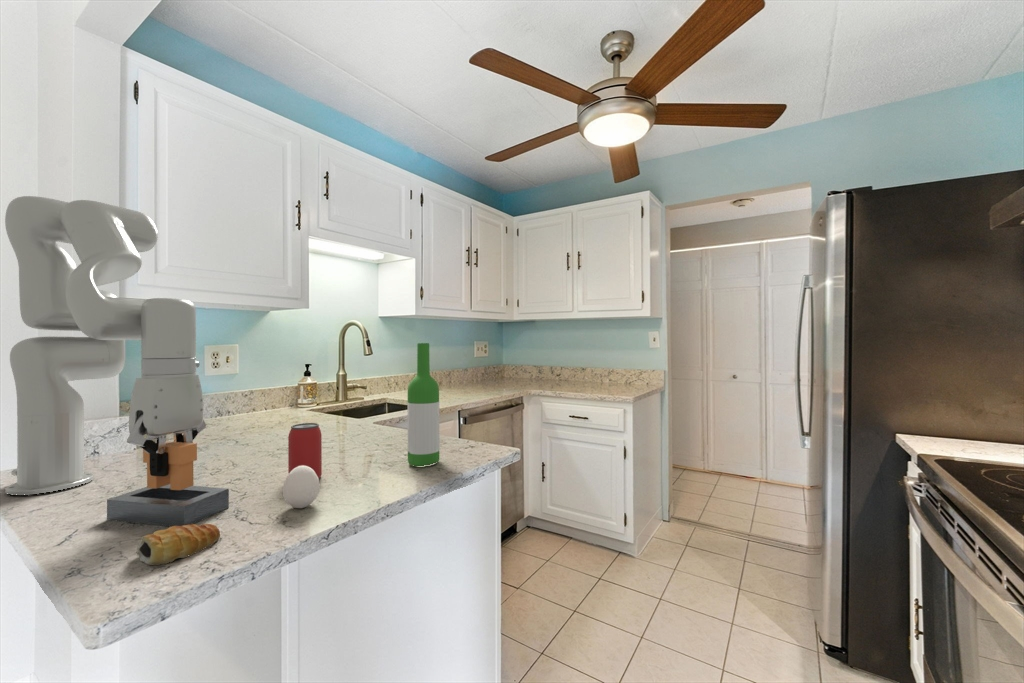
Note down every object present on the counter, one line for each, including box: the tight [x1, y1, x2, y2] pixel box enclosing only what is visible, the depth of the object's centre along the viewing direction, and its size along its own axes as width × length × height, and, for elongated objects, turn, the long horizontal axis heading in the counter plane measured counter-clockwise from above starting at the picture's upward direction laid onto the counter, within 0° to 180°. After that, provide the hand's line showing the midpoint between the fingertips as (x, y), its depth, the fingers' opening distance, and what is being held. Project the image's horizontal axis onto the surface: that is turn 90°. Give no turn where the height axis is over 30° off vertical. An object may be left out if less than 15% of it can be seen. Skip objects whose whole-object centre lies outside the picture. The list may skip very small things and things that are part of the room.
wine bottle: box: [407, 342, 441, 466], centre depth 105 cm, size 8×8×30 cm
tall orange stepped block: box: [142, 441, 198, 490], centre depth 75 cm, size 8×3×8 cm, turn 79°
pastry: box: [136, 523, 221, 566], centre depth 62 cm, size 9×7×4 cm
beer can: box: [287, 422, 323, 479], centre depth 93 cm, size 7×7×12 cm
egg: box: [282, 465, 321, 509], centre depth 77 cm, size 6×6×8 cm
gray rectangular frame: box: [106, 484, 230, 527], centre depth 75 cm, size 16×8×4 cm, turn 79°
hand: (170, 471), depth 75 cm, fingers closed on tall orange stepped block, 3 cm apart
